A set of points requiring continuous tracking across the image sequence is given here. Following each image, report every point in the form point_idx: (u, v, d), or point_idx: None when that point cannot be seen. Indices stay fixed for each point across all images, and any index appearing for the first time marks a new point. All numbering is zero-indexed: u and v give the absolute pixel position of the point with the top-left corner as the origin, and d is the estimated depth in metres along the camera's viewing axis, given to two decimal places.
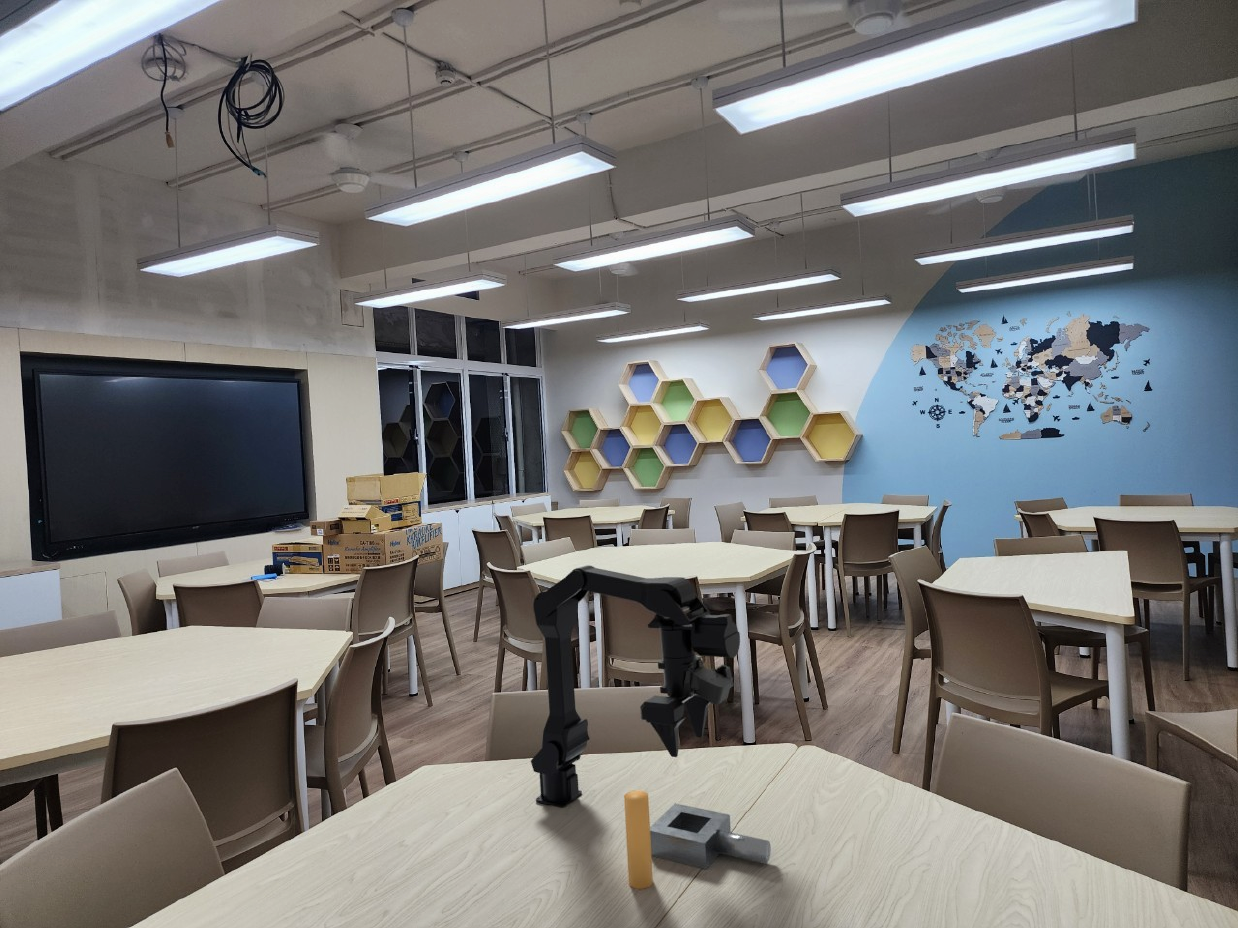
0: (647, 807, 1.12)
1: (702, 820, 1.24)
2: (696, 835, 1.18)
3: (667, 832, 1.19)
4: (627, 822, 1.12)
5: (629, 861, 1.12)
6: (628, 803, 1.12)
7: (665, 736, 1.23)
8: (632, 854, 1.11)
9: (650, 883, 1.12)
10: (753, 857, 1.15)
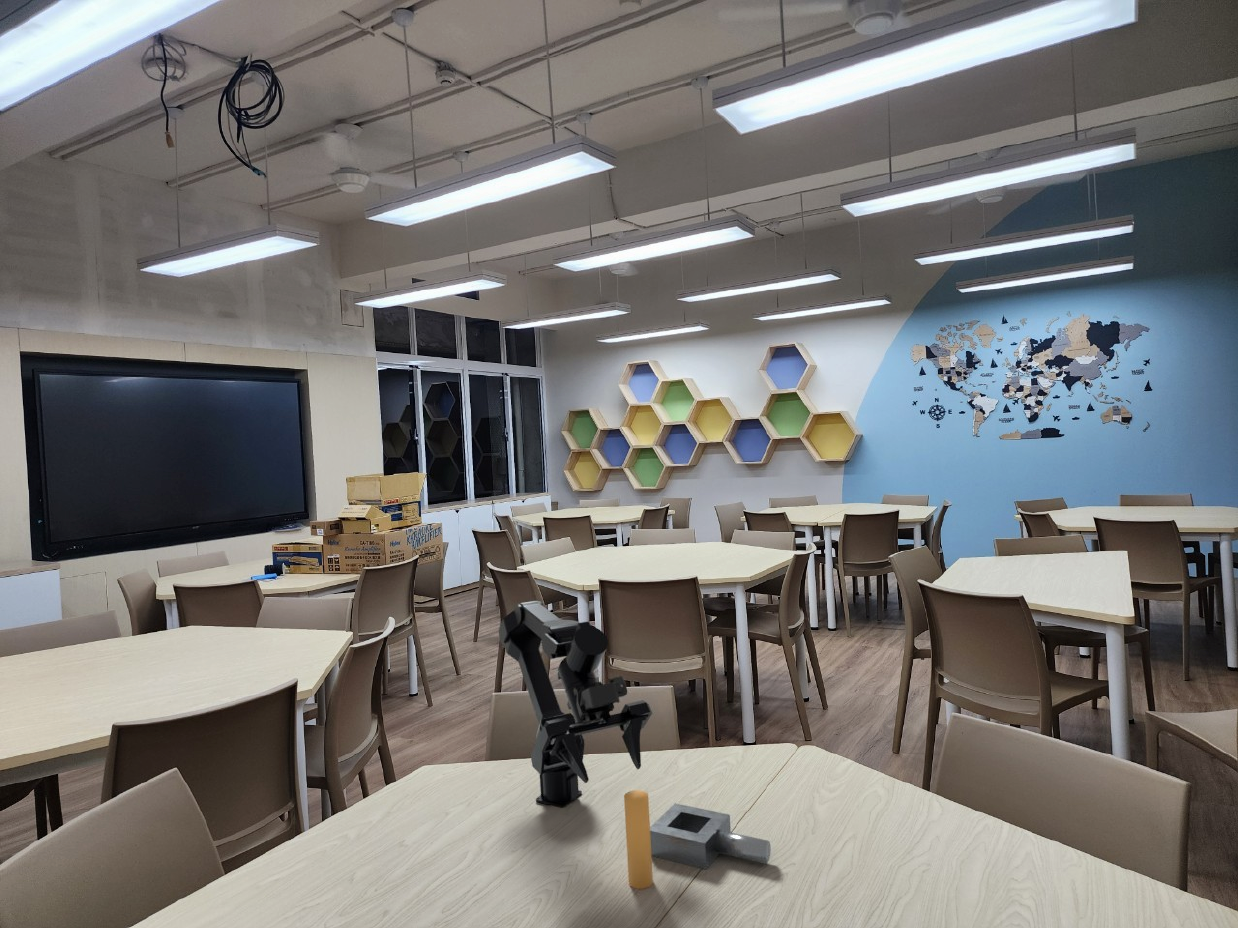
0: (647, 807, 1.12)
1: (702, 820, 1.24)
2: (696, 835, 1.18)
3: (667, 832, 1.19)
4: (627, 822, 1.12)
5: (629, 861, 1.12)
6: (628, 803, 1.12)
7: (571, 763, 1.20)
8: (632, 854, 1.11)
9: (650, 883, 1.12)
10: (753, 857, 1.15)
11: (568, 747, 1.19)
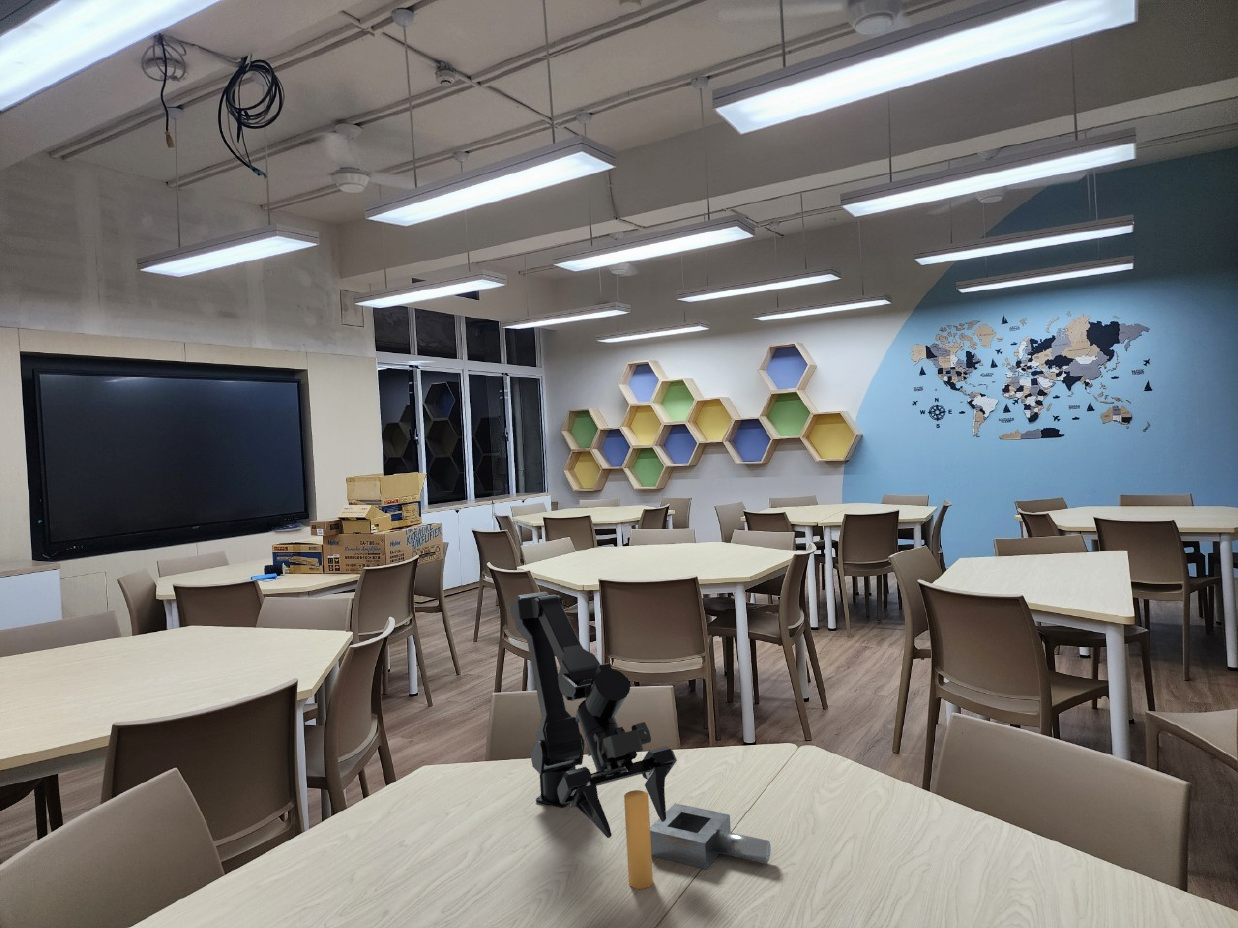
0: (647, 807, 1.12)
1: (702, 820, 1.24)
2: (696, 835, 1.18)
3: (667, 832, 1.19)
4: (627, 822, 1.12)
5: (629, 861, 1.12)
6: (628, 803, 1.12)
7: (593, 816, 1.13)
8: (632, 854, 1.11)
9: (650, 883, 1.12)
10: (753, 857, 1.15)
11: (589, 799, 1.13)
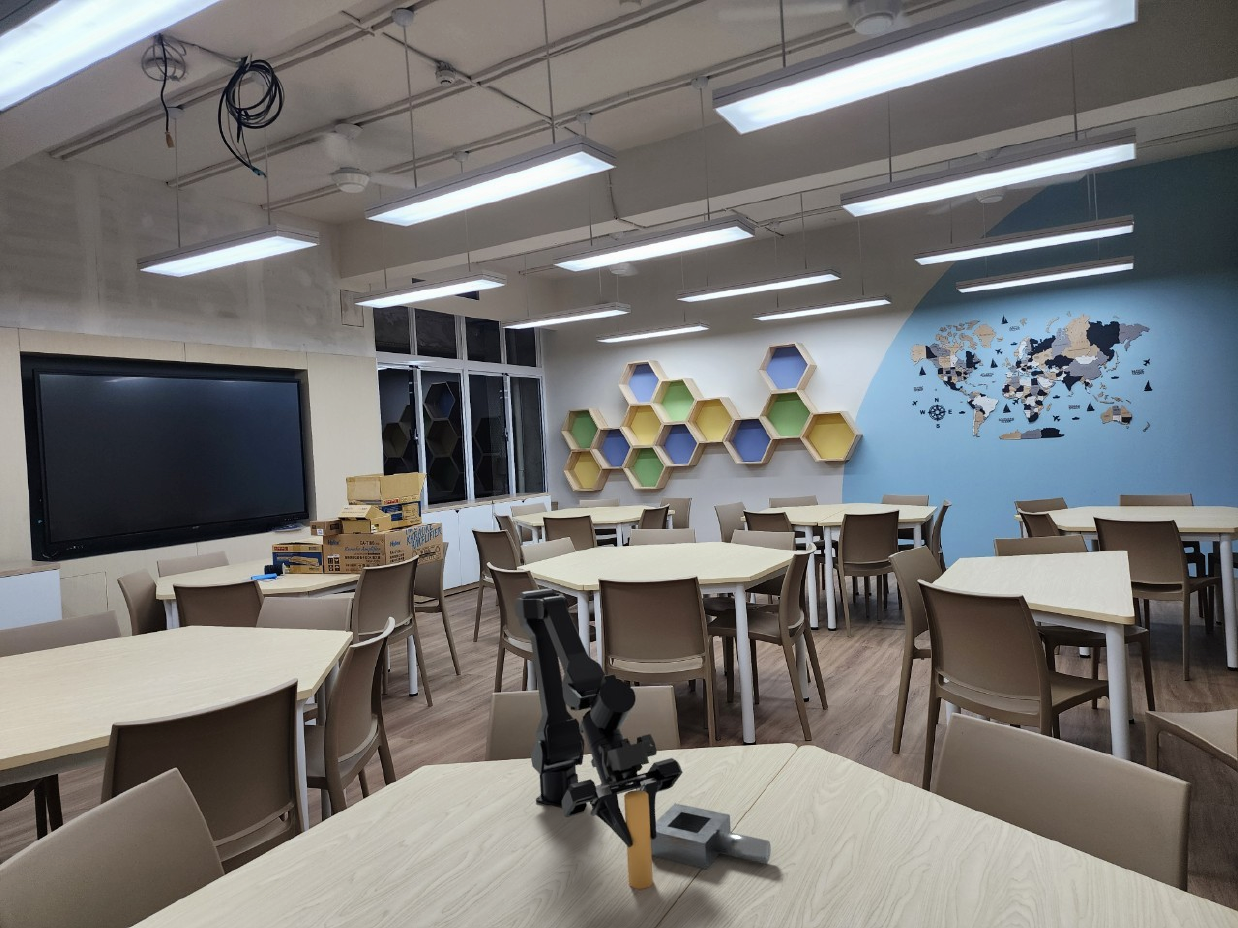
0: (647, 807, 1.12)
1: (702, 820, 1.24)
2: (696, 835, 1.18)
3: (667, 832, 1.19)
4: (627, 822, 1.12)
5: (629, 861, 1.12)
6: (628, 803, 1.12)
7: (614, 825, 1.13)
8: (632, 854, 1.11)
9: (650, 883, 1.12)
10: (753, 857, 1.15)
11: (610, 808, 1.12)
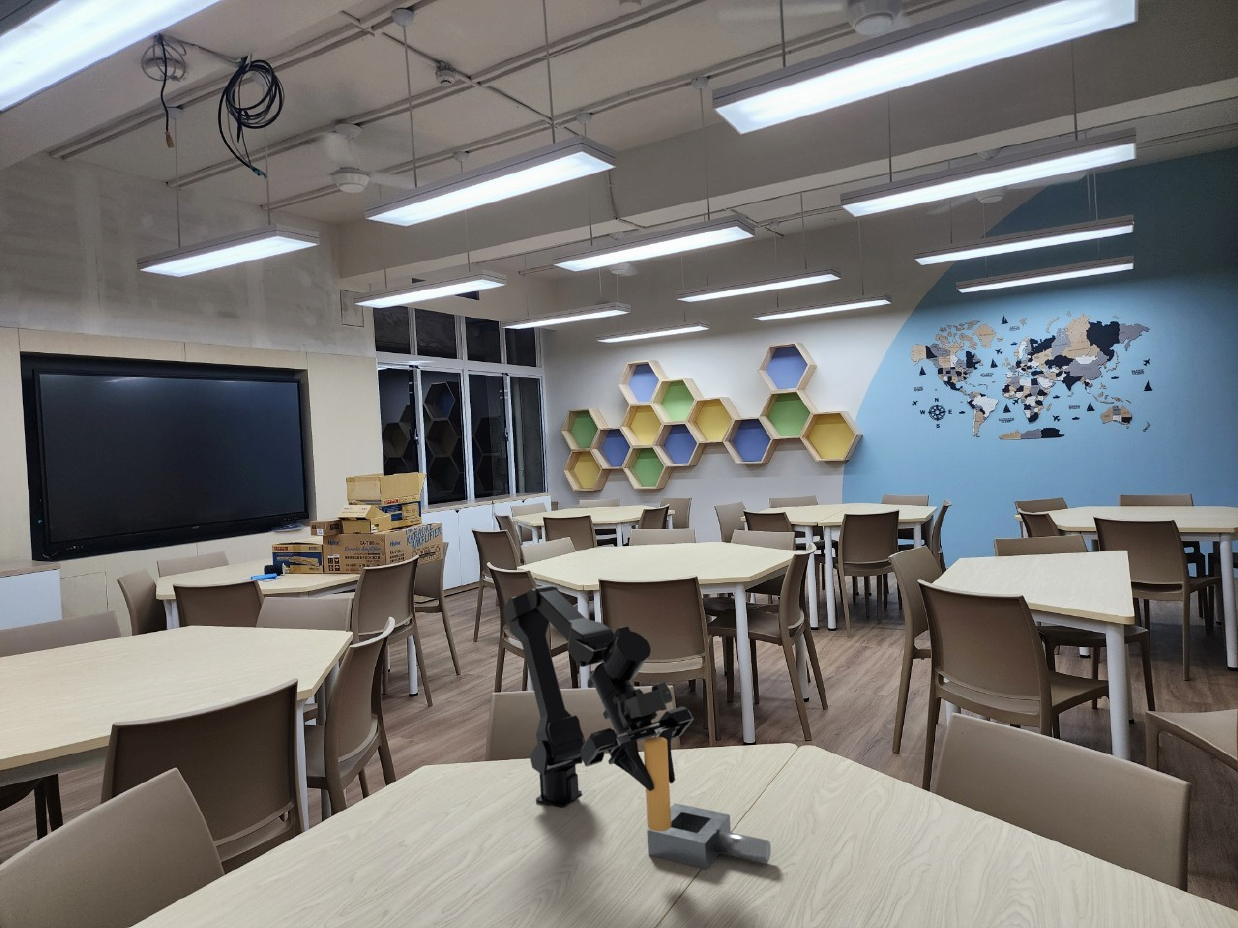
0: (667, 751, 1.15)
1: (702, 820, 1.24)
2: (696, 835, 1.18)
3: (667, 832, 1.19)
4: (648, 767, 1.15)
5: (649, 805, 1.15)
6: (649, 748, 1.14)
7: (633, 771, 1.15)
8: (653, 798, 1.14)
9: (669, 825, 1.15)
10: (753, 857, 1.15)
11: (631, 755, 1.15)
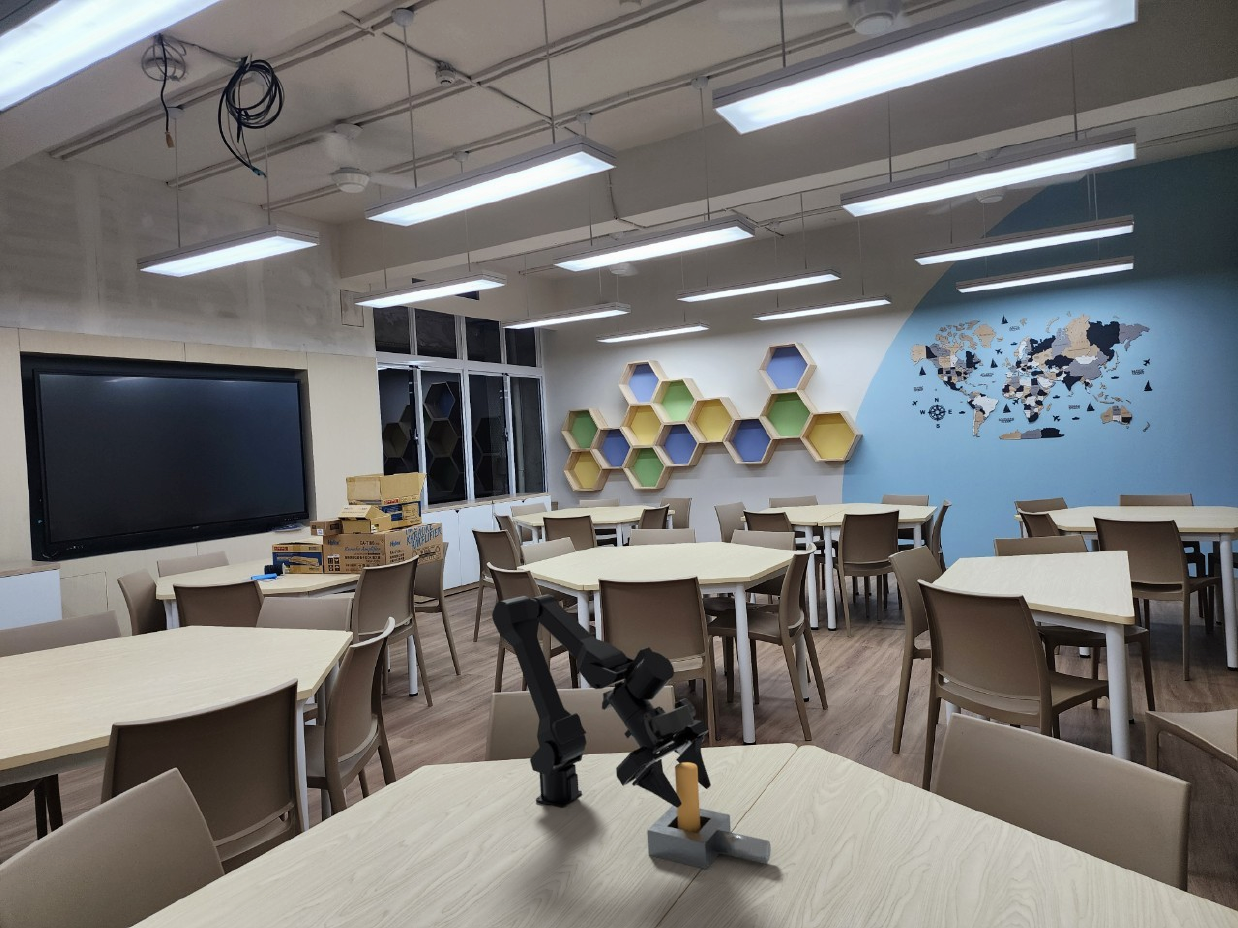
0: (697, 775, 1.22)
1: (702, 820, 1.24)
2: (696, 835, 1.18)
3: (667, 832, 1.19)
4: (682, 792, 1.21)
5: (683, 828, 1.21)
6: (683, 774, 1.20)
7: (659, 790, 1.19)
8: (687, 821, 1.21)
9: None
10: (753, 857, 1.15)
11: (657, 774, 1.19)
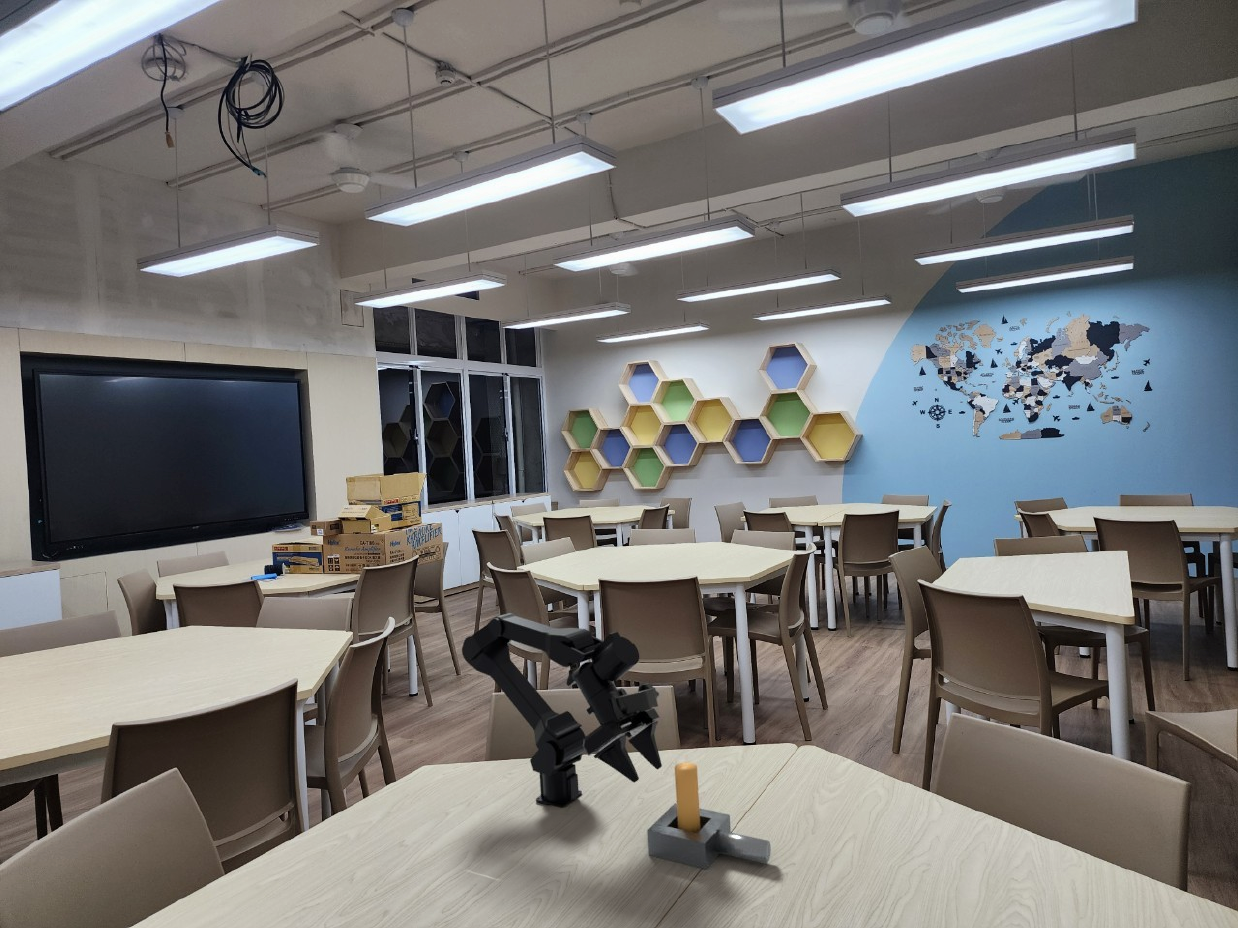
0: (697, 775, 1.22)
1: (702, 820, 1.24)
2: (696, 835, 1.18)
3: (667, 832, 1.19)
4: (681, 792, 1.21)
5: (683, 828, 1.21)
6: (683, 774, 1.20)
7: (619, 764, 1.25)
8: (687, 821, 1.21)
9: None
10: (753, 857, 1.15)
11: (621, 748, 1.25)
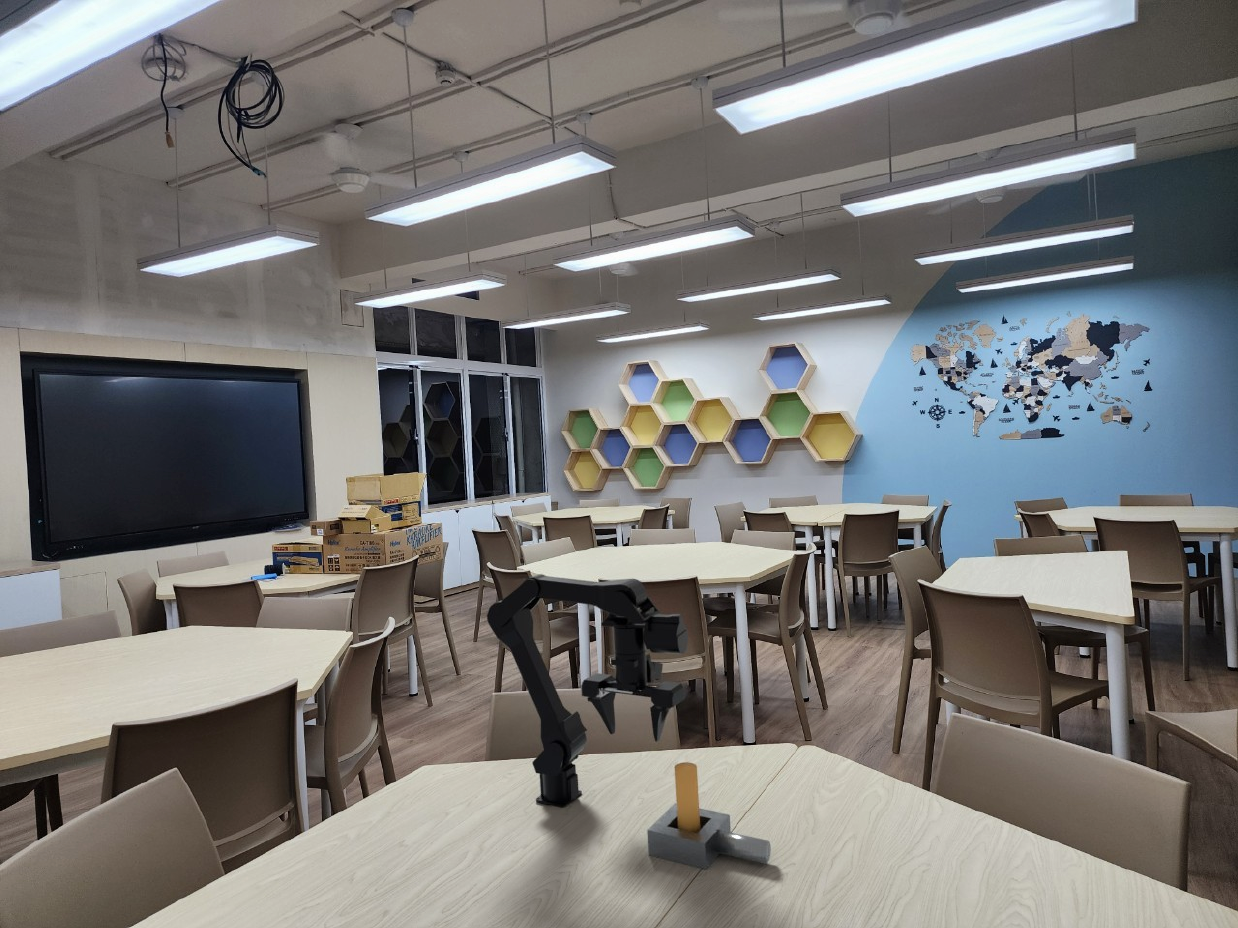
0: (696, 775, 1.22)
1: (702, 820, 1.24)
2: (696, 835, 1.18)
3: (667, 832, 1.19)
4: (681, 792, 1.21)
5: (683, 828, 1.21)
6: (683, 774, 1.21)
7: (660, 722, 1.33)
8: (687, 821, 1.21)
9: None
10: (753, 857, 1.15)
11: None
